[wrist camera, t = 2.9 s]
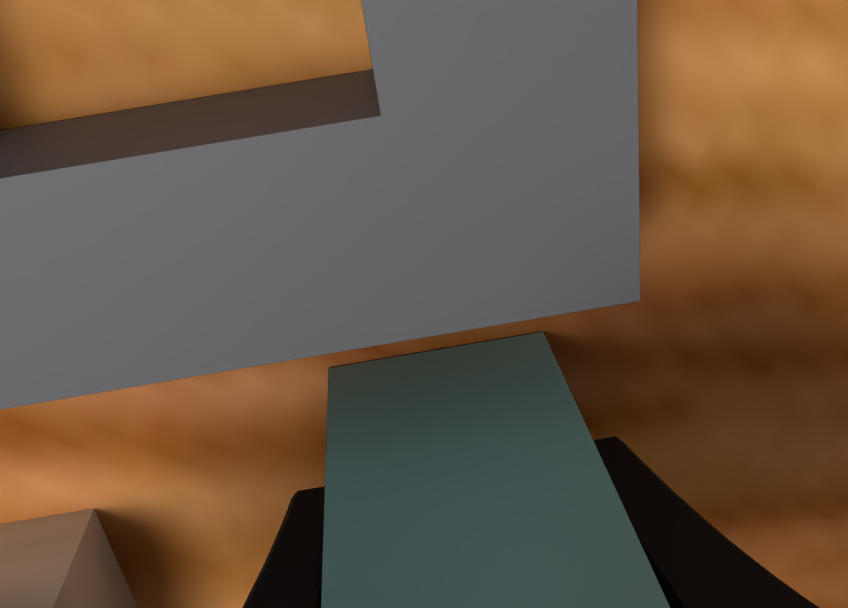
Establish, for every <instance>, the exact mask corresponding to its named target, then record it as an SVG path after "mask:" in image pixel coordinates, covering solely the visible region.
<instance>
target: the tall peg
mask: <svg viewBox="0 0 848 608" xmlns="http://www.w3.org/2000/svg"><path fill="white" fill-rule="evenodd" d="M321 608H670V606H669V604H668V602H667V600H666V598H665V595H664V593H663V591H662V589H661V587H660V585H659V582H658V580H657V578H656V576H655V574H654V572H653V569H652V567H651V565H650V563H649V561H648V558H647V556H646V554H645V552H644V550H643V548H642V545H641V543H640V541H639V539H638V537H637V535H636V532H635V530H634V528H633V526H632V524H631V522H630V519H629V517H628V515H627V513H626V511H625V508H624V506H623V504H622V502H621V500H620V498H619V495H618V493H617V491H616V489H615V487H614V485H613V482H612V480H611V478H610V476H609V474H608V472H607V469H606V467H605V465H604V463H603V461H602V458H601V456H600V454H599V452H598V450H597V448H596V445H595V443H594V441H593V439H592V437H591V435H590V432H589V430H588V428H587V426H586V424H585V422H584V419H583V417H582V415H581V413H580V411H579V408H578V406H577V404H576V402H575V400H574V398H573V395H572V393H571V391H570V389H569V387H568V385H567V382H566V380H565V378H564V376H563V374H562V372H561V369H560V367H559V365H558V363H557V361H556V359H555V356H554V354H553V352H552V350H551V348H550V345H549V343H548V341H547V339H546V337H545V335H544V332H539V333H533V334H527V335H521V336H515V337H509V338H503V339H498V340H492V341H486V342H480V343H474V344H468V345H462V346H456V347H450V348H445V349H439V350H433V351H427V352H421V353H415V354H409V355H403V356H397V357H391V358H386V359H380V360H374V361H368V362H362V363H356V364H350V365H344V366H338V367H332V368H329V373H328V405H327V437H326V469H325V501H324V533H323V565H322V597H321Z"/></svg>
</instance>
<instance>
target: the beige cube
mask: <svg viewBox="0 0 848 608" xmlns="http://www.w3.org/2000/svg"><path fill="white" fill-rule="evenodd" d="M0 608H138V607H137V604H136V602H135V600H134V598H133V595H132V593H131V591H130V589H129V586H128V584H127V582H126V580H125V577H124V575H123V573H122V571H121V568H120V566H119V564H118V562H117V559H116V557H115V555H114V553H113V550H112V548H111V546H110V544H109V541H108V539H107V537H106V535H105V532H104V530H103V528H102V526H101V523H100V521H99V519H98V517H97V514H96V512H95V510H94V509H88V510H82V511H76V512H70V513H64V514H58V515H52V516H46V517H40V518H34V519H28V520H22V521H16V522H10V523H4V524H0Z"/></svg>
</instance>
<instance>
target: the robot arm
mask: <svg viewBox="0 0 848 608" xmlns="http://www.w3.org/2000/svg"><path fill="white" fill-rule="evenodd" d="M593 441H594V443H595V445H596V448H597V450H598V452H599V454H600V456H601V458H602V461H603V463H604V465H605V467H606V469H607V472H608V474H609V476H610V478H611V480H612V482H613V485H614V487H615V489H616V491H617V493H618V495H619V498H620V500H621V502H622V504H623V506H624V508H625V511H626V513H627V515H628V517H629V519H630V522H631V524H632V526H633V528H634V530H635V532H636V535H637V537H638V539H639V541H640V543H641V545H642V548H643V550H644V552H645V554H646V556H647V558H648V561H649V563H650V565H651V567H652V569H653V572H654V574H655V576H656V578H657V580H658V582H659V585H660V587H661V589H662V591H663V593H664V595H665V598H666V600H667V602H668V604H669V606H670V608H819V607H817V606H816V605H814V604H813V603H811V602H810V601H809V600H807V599H806V598H804V597H803V596H801V595H800V594H799V593H797V592H796V591H794V590H793V589H792V588H790V587H789V586H788V585H786V584H785V583H784V582H782V581H781V580H779V579H778V578H777V577H775V576H774V575H773V574H771V573H770V572H769V571H768V570H766V569H765V568H764V567H762V566H761V565H760V564H759V563H757V562H756V561H755V560H753V559H752V558H751V557H750V556H748V555H747V554H746V553H744V552H743V551H742V550H741V549H739V548H738V547H737V546H736V545H735V544H733V543H732V542H731V541H730V540H728V539H727V538H726V537H725V536H724V535H722V534H721V533H720V532H719V531H718V530H717V529H716V528H714V527H713V526H712V525H711V524H710V523H709V522H707V521H706V520H705V519H704V518H703V517H702V516H700V515H699V514H698V513H697V512H696V511H695V510H694V509H692V508H691V507H690V506H689V505H688V504H687V503H686V502H685V501H684V500H682V499H681V498H680V497H679V496H678V495H677V494H676V493H675V492H674V491H673V490H672V489H671V488H669V487H668V486H667V485H666V484H665V483H664V482H663V481H662V480H661V479H660V478H659V477H658V476H657V475H656V474H655V473H654V472H653V471H652V470H651V469H650V468H649V467H648V466H647V465H645V464H644V463H643V462H642V461H641V460H640V459H639V458H638V457H637V456H636V455H635V454H634V453H633V452H632V450H631V449H630V448H629V447H628V446H627V445H626V444H625V443H624V442H623V441H621V440H620V439H618V438H617V437H616V436H615V437H609V438H604V439H598V440H593ZM324 501H325V487H319V488H313V489H307V490H301V491H297V493H296V494H295V495H294V496H293V497H292V499H291V502H290V504H289V507H288V510H287V512H286V515H285V517H284V520H283V522H282V525H281V527H280V529H279V532H278V534H277V536H276V539H275V541H274V543H273V546H272V548H271V550H270V552H269V554H268V557H267V559H266V561H265V563H264V565H263V567H262V570H261V572H260V574H259V576H258V578H257V580H256V582H255V584H254V586H253V588H252V590H251V592H250V594H249V596H248V598H247V600H246V602H245V604H244V606H243V608H321V597H322V565H323V533H324Z"/></svg>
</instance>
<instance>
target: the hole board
mask: <svg viewBox="0 0 848 608" xmlns="http://www.w3.org/2000/svg"><path fill="white" fill-rule="evenodd" d="M361 1H362V7H363V13H364V19H365V25H366V31H367V37H368V42H369V48H370V54H371V60H372V66H373V70H367V71H361V72H354V73H348V74H342V75H336V76H330V77H324V78H318V79H312V80H306V81H300V82H293V83H287V84H281V85H275V86H269V87H263V88H257V89H251V90H245V91H239V92H232V93H226V94H220V95H214V96H208V97H202V98H196V99H190V100H184V101H178V102H171V103H165V104H159V105H153V106H147V107H141V108H135V109H129V110H123V111H117V112H110V113H104V114H98V115H92V116H86V117H80V118H74V119H68V120H62V121H56V122H49V123H43V124H37V125H31V126H25V127H19V128H13V129H7V130H1V131H0V409H5V408H11V407H17V406H23V405H29V404H35V403H41V402H46V401H52V400H58V399H64V398H70V397H76V396H82V395H88V394H94V393H100V392H105V391H111V390H117V389H123V388H129V387H135V386H141V385H147V384H153V383H159V382H164V381H170V380H176V379H182V378H188V377H194V376H200V375H206V374H212V373H218V372H224V371H229V370H235V369H241V368H247V367H253V366H259V365H265V364H271V363H277V362H283V361H288V360H294V359H300V358H306V357H312V356H318V355H324V354H330V353H336V352H342V351H347V350H353V349H359V348H365V347H371V346H377V345H383V344H389V343H395V342H401V341H407V340H412V339H418V338H424V337H430V336H436V335H442V334H448V333H454V332H460V331H466V330H471V329H477V328H483V327H489V326H495V325H501V324H507V323H513V322H519V321H525V320H530V319H536V318H542V317H548V316H554V315H560V314H566V313H572V312H578V311H584V310H590V309H595V308H601V307H607V306H613V305H619V304H625V303H631V302H637V301H640V221H639V128H638V36H637V0H361Z"/></svg>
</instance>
